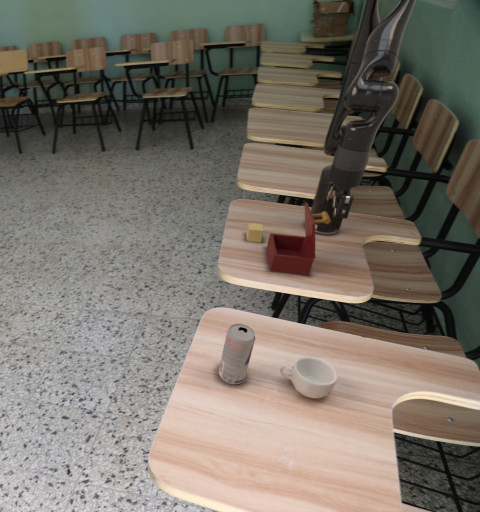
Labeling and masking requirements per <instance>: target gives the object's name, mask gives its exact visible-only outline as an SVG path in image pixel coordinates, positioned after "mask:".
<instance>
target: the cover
mask: <svg viewBox="0 0 480 512" xmlns="http://www.w3.org/2000/svg"><path fill="white" fill-rule="evenodd" d="M313 217H322V218H323V219H320V220H314V219H313ZM330 222H331V220H330V218H329V215H328V213H327V212H326V211H324V212H322V213H320V214H311V207H310V205H309V202H304V235H305V236H304V237H306V239H307V243H308V246H309V249H310V252H311V255H312V258H313V259H316V233H315V223H325V224H329V223H330Z"/></svg>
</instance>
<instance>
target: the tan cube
mask: <svg viewBox="0 0 480 512" xmlns="http://www.w3.org/2000/svg"><path fill="white" fill-rule="evenodd" d="M246 229H247V230H246V234H245V235H246V241H247V242H254V243H262V242H263V241H262V240H263V236H264V232H265V231H264V224H263V223H254V222H253V223H252V222H248V224H247V228H246Z"/></svg>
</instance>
